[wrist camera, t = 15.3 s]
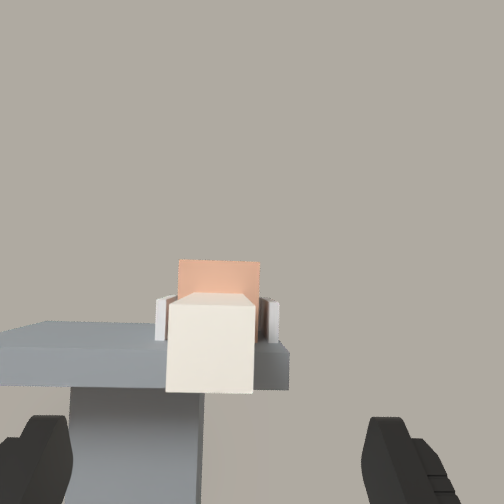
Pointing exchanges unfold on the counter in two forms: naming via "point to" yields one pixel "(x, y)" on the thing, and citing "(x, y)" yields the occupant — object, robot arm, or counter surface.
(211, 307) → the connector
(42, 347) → the stand
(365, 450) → the robot arm
